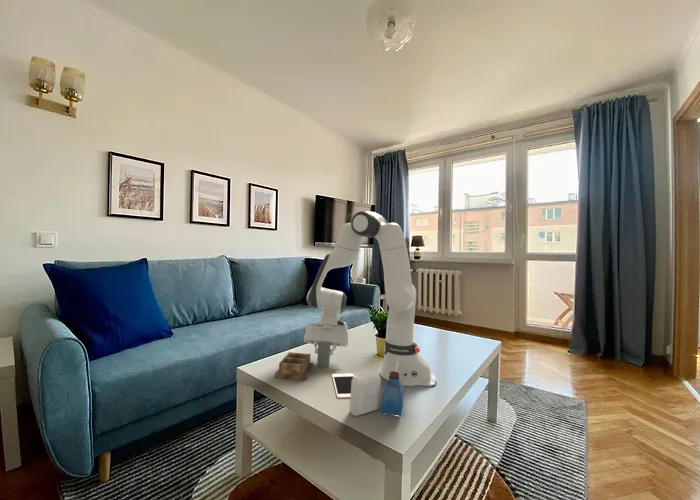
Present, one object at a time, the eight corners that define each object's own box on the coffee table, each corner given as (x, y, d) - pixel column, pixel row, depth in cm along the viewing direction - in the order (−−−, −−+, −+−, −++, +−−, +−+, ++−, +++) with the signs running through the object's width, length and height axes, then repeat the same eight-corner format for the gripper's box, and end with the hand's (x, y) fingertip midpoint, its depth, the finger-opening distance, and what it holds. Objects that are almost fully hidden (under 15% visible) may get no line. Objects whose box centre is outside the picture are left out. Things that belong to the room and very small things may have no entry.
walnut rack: (313, 366, 125) (313, 353, 124) (304, 381, 111) (305, 366, 111) (286, 363, 126) (287, 351, 126) (274, 378, 112) (275, 364, 112)
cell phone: (353, 375, 118) (353, 373, 118) (362, 398, 101) (362, 396, 101) (331, 376, 117) (331, 373, 117) (337, 399, 99) (337, 397, 99)
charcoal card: (329, 364, 127) (330, 342, 127) (328, 366, 125) (329, 344, 124) (318, 363, 128) (319, 341, 127) (317, 365, 125) (318, 343, 125)
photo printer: (373, 402, 98) (374, 366, 98) (381, 409, 94) (383, 371, 94) (347, 411, 92) (349, 372, 92) (355, 418, 88) (357, 378, 88)
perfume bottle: (384, 403, 98) (386, 368, 98) (403, 407, 96) (405, 371, 96) (381, 413, 92) (383, 375, 92) (400, 417, 90) (402, 379, 90)
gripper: (306, 319, 134) (299, 348, 124) (349, 323, 132) (346, 352, 122) (308, 326, 138) (301, 354, 129) (350, 330, 136) (346, 358, 127)
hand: (323, 353), depth 125 cm, fingers closed on charcoal card, 5 cm apart
